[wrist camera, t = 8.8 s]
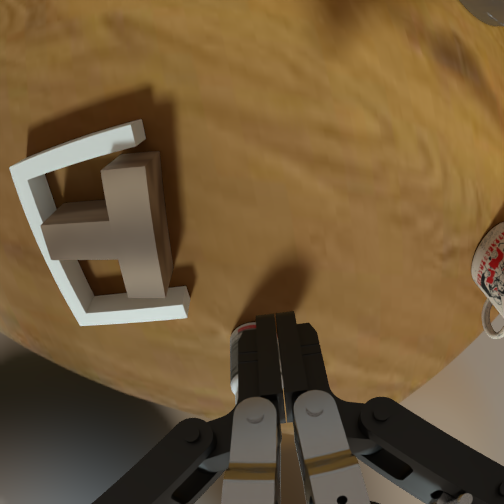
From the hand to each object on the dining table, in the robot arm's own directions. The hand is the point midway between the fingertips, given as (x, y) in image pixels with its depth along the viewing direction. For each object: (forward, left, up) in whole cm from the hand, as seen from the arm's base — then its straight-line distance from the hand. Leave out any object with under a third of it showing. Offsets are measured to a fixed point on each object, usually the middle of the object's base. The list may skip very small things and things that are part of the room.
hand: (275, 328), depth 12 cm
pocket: (0, -12, -13) cm, 18 cm away
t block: (-1, -11, -13) cm, 17 cm away
